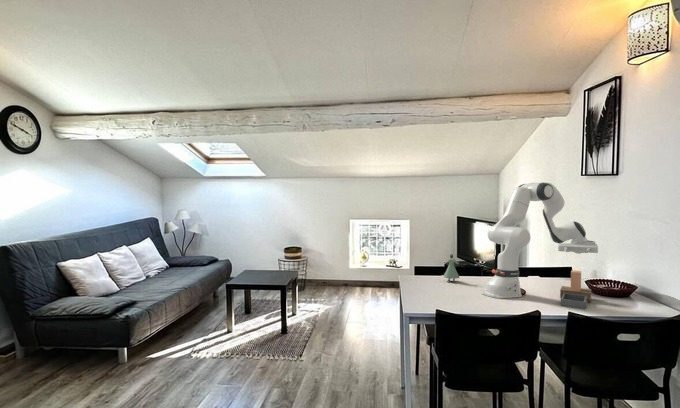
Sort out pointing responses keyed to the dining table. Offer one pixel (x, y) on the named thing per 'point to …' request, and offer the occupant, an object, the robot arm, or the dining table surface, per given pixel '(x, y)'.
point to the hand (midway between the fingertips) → (576, 251)
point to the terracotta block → (576, 280)
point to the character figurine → (451, 269)
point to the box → (574, 300)
